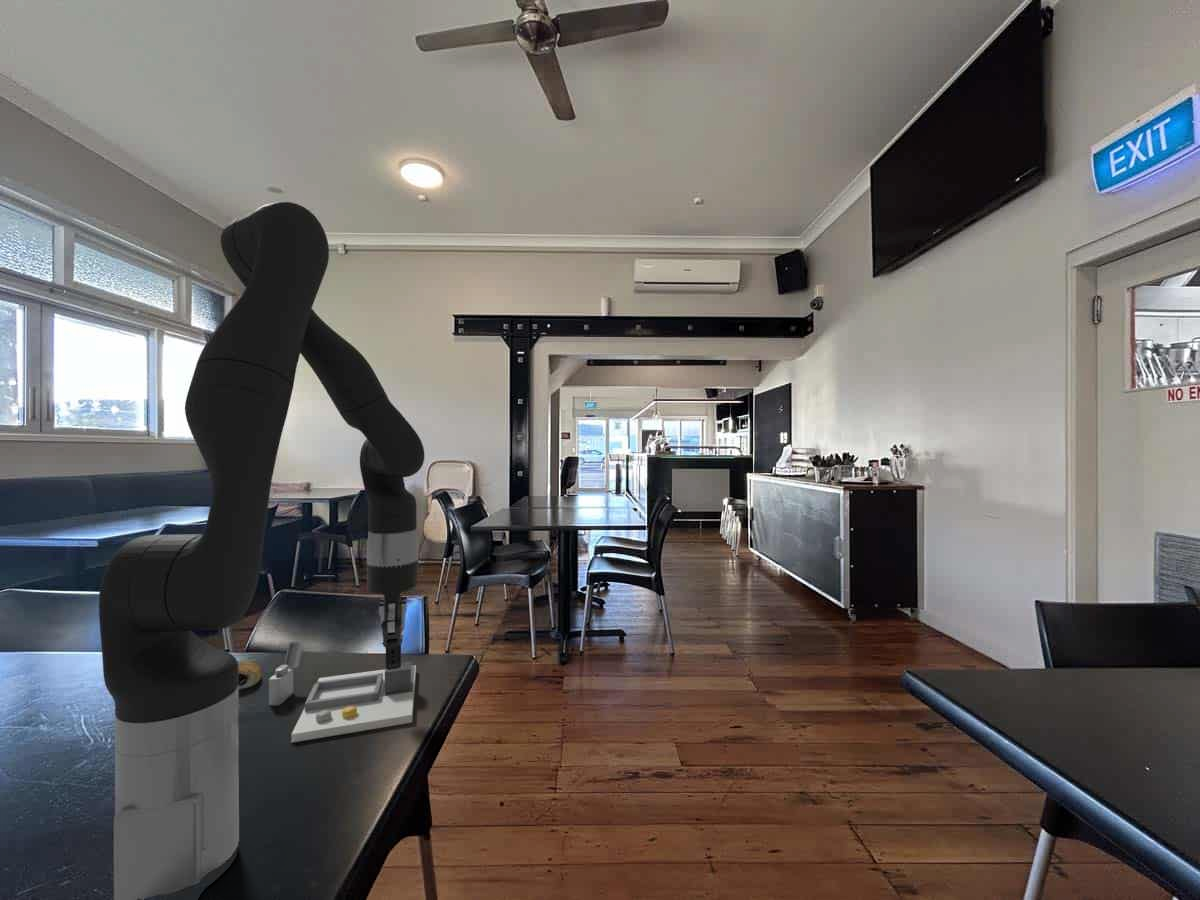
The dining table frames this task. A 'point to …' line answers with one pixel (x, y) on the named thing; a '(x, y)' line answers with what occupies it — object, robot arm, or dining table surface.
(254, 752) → the dining table surface
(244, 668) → the pastry
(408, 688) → the block
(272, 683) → the lighter
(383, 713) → the board
